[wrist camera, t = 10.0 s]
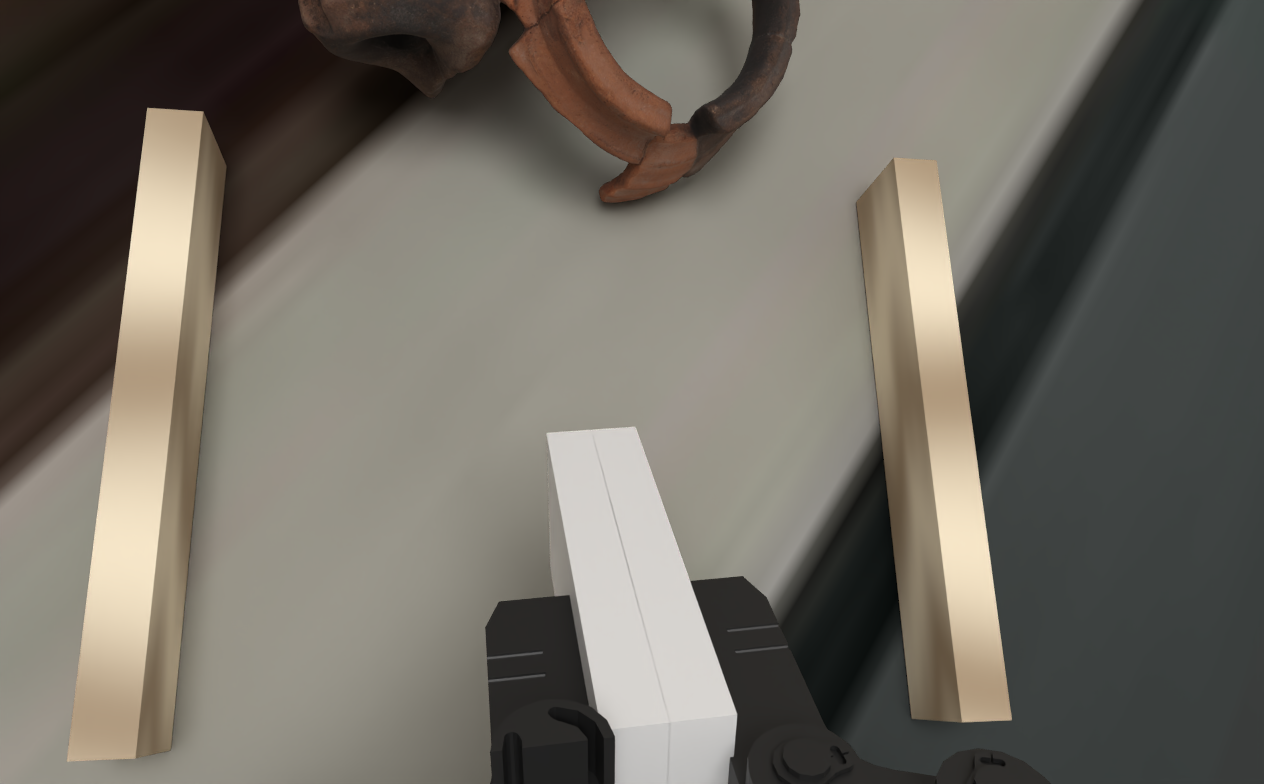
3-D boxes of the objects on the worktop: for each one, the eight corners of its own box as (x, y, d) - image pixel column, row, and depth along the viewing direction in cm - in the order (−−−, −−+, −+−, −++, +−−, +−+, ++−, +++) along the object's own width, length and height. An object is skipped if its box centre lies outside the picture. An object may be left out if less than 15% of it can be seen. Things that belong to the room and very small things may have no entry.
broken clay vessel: (607, -120, 30) (791, -246, 24) (672, 184, 32) (857, 149, 26) (211, -101, 24) (305, -265, 17) (322, 272, 26) (445, 257, 19)
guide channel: (956, 717, 24) (1011, 720, 22) (109, 752, 21) (67, 761, 18) (895, 204, 28) (936, 160, 26) (176, 163, 25) (147, 108, 22)
